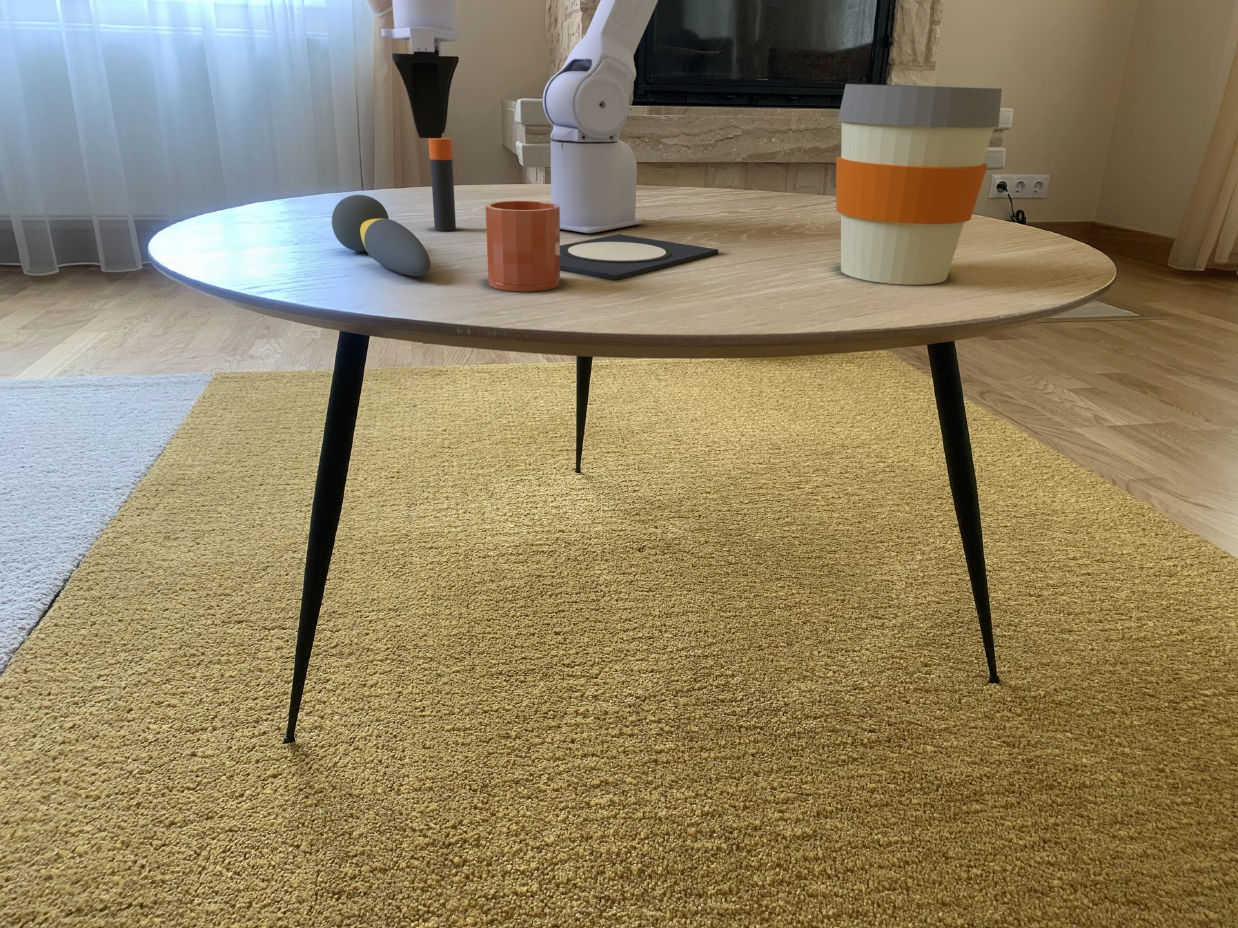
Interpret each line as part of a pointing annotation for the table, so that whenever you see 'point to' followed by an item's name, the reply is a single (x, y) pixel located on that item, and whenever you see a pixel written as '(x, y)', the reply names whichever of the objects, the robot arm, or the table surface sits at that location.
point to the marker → (442, 183)
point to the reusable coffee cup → (909, 176)
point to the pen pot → (523, 245)
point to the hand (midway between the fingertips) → (432, 135)
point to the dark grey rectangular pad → (626, 255)
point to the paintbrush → (378, 235)
